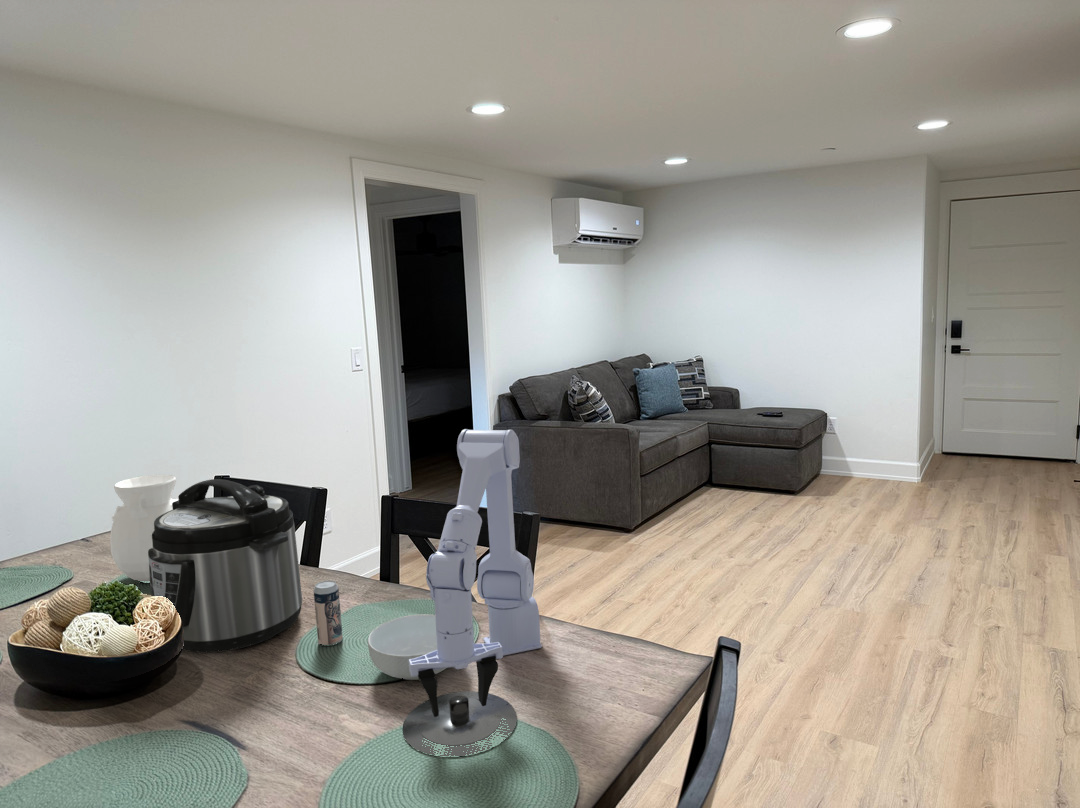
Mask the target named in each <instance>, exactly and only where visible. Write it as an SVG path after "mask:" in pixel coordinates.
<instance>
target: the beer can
mask: <svg viewBox="0 0 1080 808" xmlns="http://www.w3.org/2000/svg"><path fill="white" fill-rule="evenodd" d="M339 589H340V588H339V586H338V584H337V583H336V581H335V580H322V581H320V582H318V583H317V584H315V586H314V588H313V600H314V610H315V622H316V624H315V625H316V632H317V633H316V635H317V643H318V644H319V645H320V644H322V645H321V646H323V645H333V644H336V643H338V642H339V643H340V642H342V641H343V638H344V637H343V627H342V615H341V603H340V602H341V601H340V590H339ZM339 643H338V644H339ZM336 645H337V644H336ZM333 646H334V645H333Z"/></svg>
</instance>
